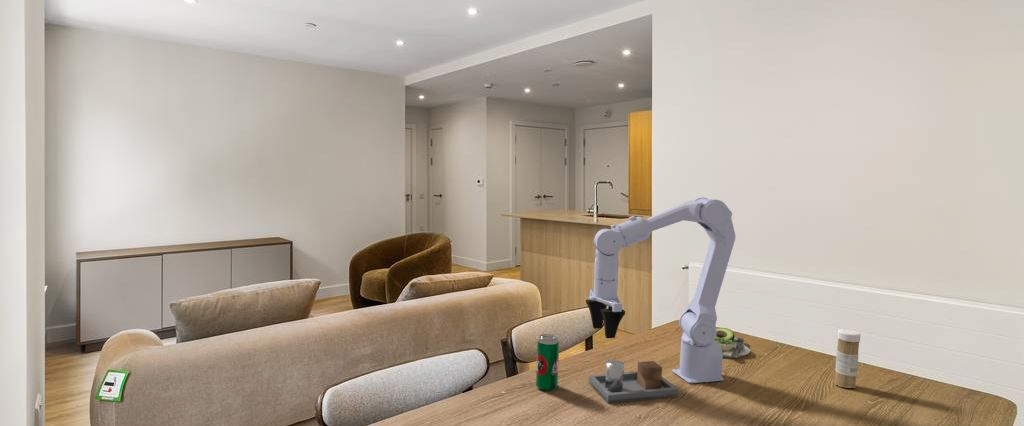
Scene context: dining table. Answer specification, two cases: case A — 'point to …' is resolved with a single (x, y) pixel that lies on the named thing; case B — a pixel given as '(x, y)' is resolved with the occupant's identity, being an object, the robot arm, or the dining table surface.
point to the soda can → (547, 362)
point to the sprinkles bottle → (847, 358)
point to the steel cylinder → (614, 375)
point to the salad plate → (730, 344)
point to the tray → (631, 389)
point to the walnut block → (649, 375)
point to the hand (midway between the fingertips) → (603, 332)
